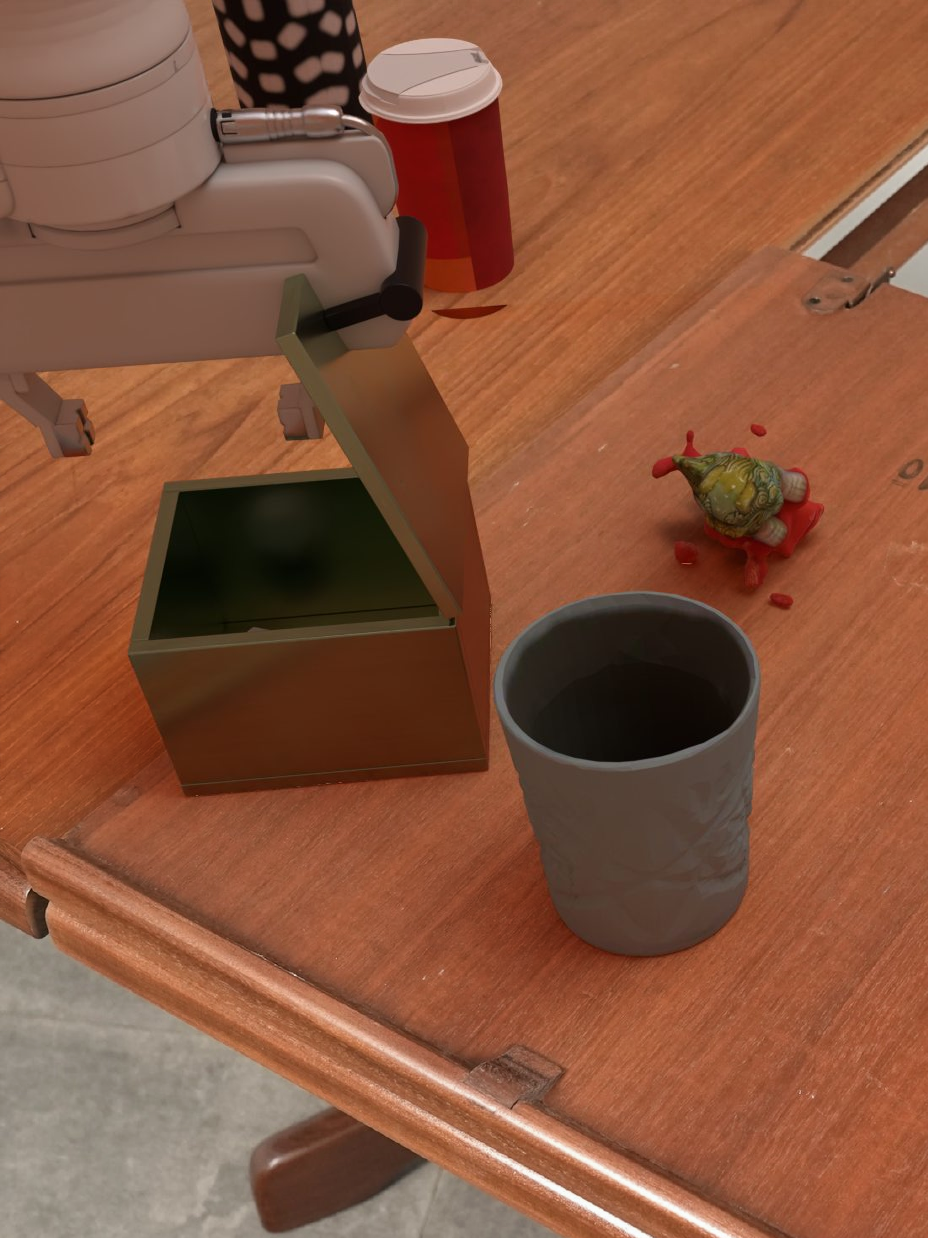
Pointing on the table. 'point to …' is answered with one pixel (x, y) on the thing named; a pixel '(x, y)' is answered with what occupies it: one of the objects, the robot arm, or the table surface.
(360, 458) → the lid
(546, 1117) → the table surface
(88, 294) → the robot arm
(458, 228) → the paper cup
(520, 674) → the grey cup
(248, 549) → the bin
